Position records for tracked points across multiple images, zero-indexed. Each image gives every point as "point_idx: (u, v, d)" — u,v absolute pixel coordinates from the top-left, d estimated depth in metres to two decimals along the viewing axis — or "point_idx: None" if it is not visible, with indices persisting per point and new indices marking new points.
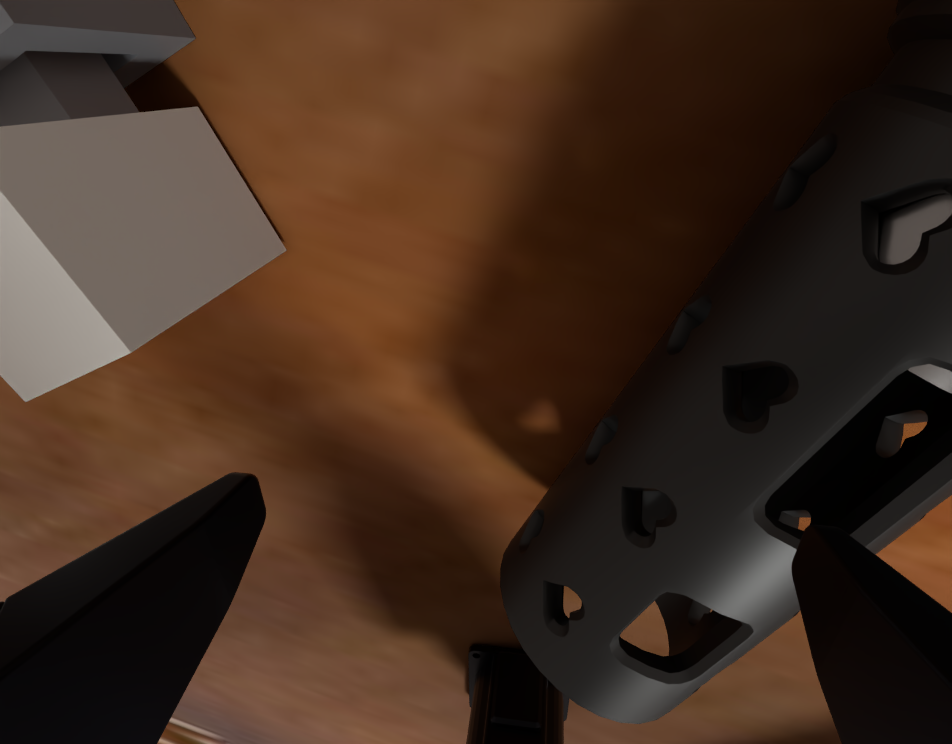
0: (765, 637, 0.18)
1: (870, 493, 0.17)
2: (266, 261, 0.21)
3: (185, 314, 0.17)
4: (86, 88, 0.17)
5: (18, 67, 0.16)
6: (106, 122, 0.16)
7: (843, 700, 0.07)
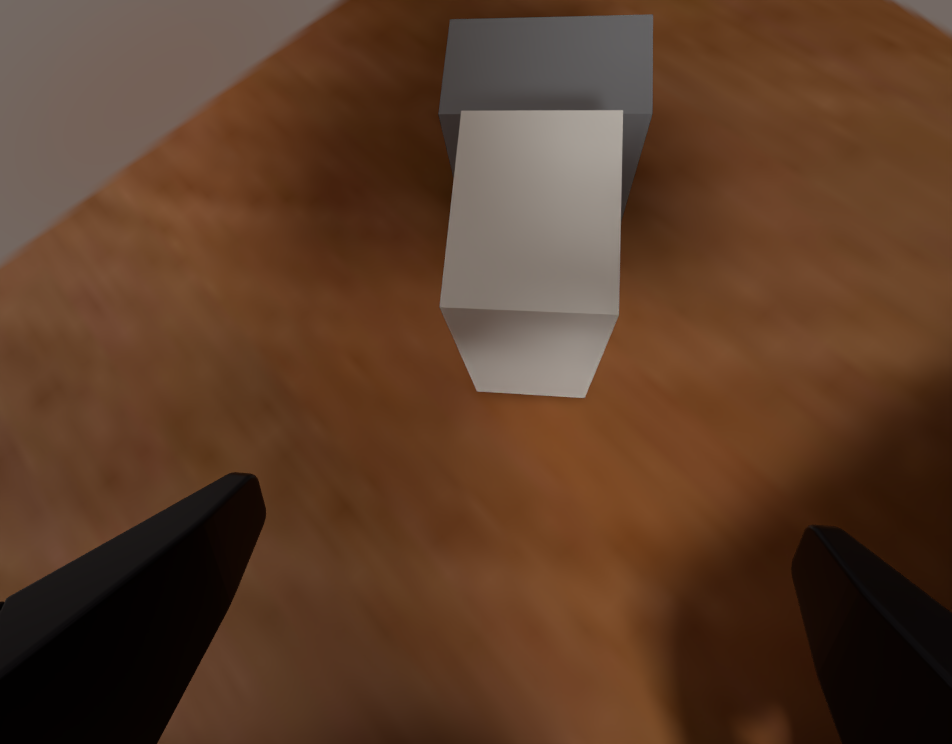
0: None
1: None
2: (588, 386, 0.21)
3: None
4: None
5: None
6: None
7: (843, 700, 0.07)
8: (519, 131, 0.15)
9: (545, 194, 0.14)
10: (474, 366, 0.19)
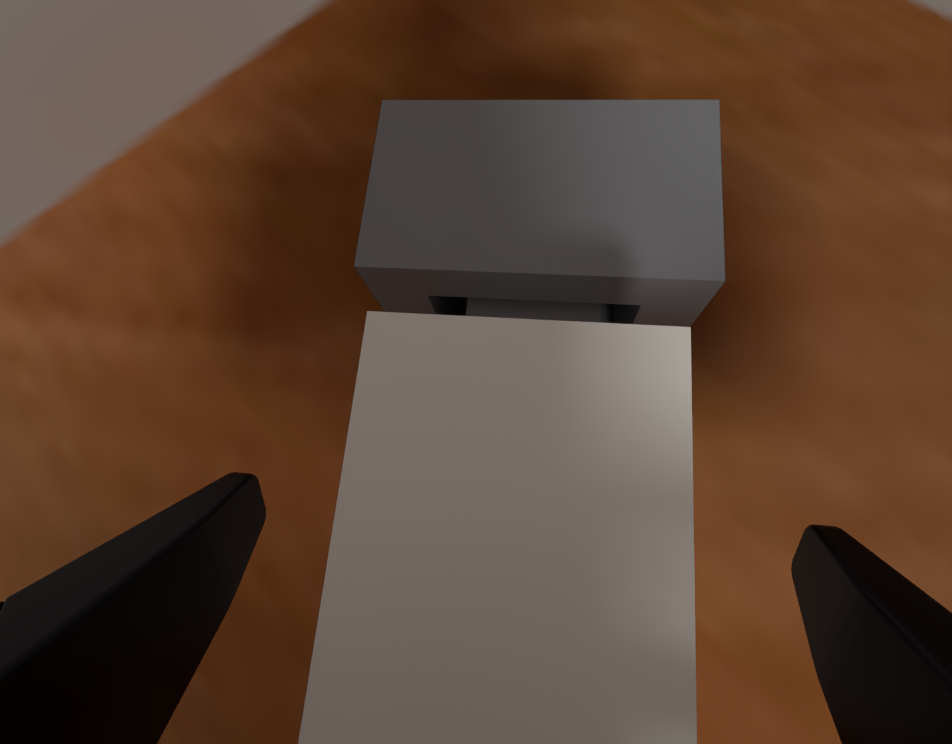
0: None
1: None
2: None
3: None
4: None
5: (579, 310, 0.12)
6: None
7: (843, 700, 0.07)
8: (479, 363, 0.07)
9: (529, 518, 0.07)
10: None
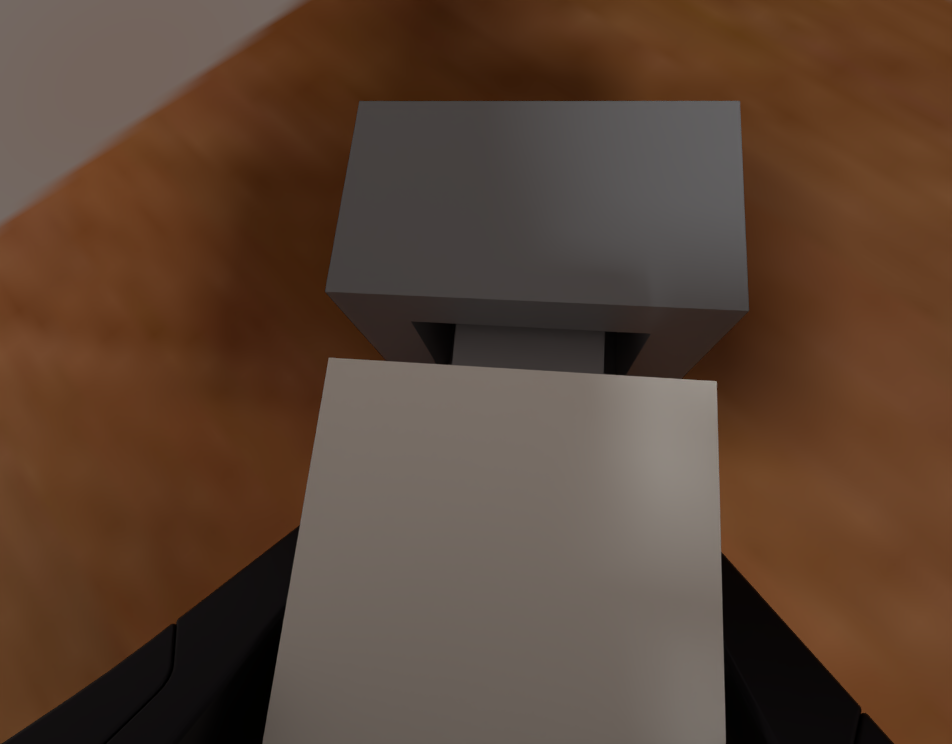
0: None
1: None
2: None
3: None
4: None
5: (581, 337, 0.11)
6: None
7: None
8: (461, 424, 0.06)
9: (520, 620, 0.06)
10: None
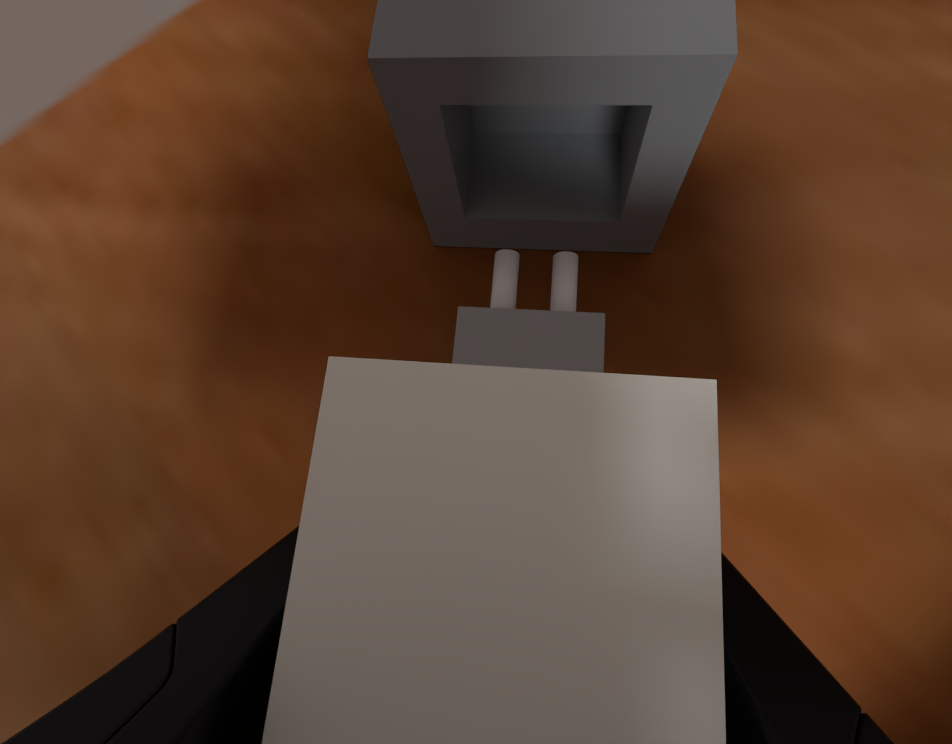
0: None
1: None
2: None
3: None
4: None
5: (581, 336, 0.11)
6: None
7: None
8: (461, 422, 0.06)
9: (519, 618, 0.06)
10: None
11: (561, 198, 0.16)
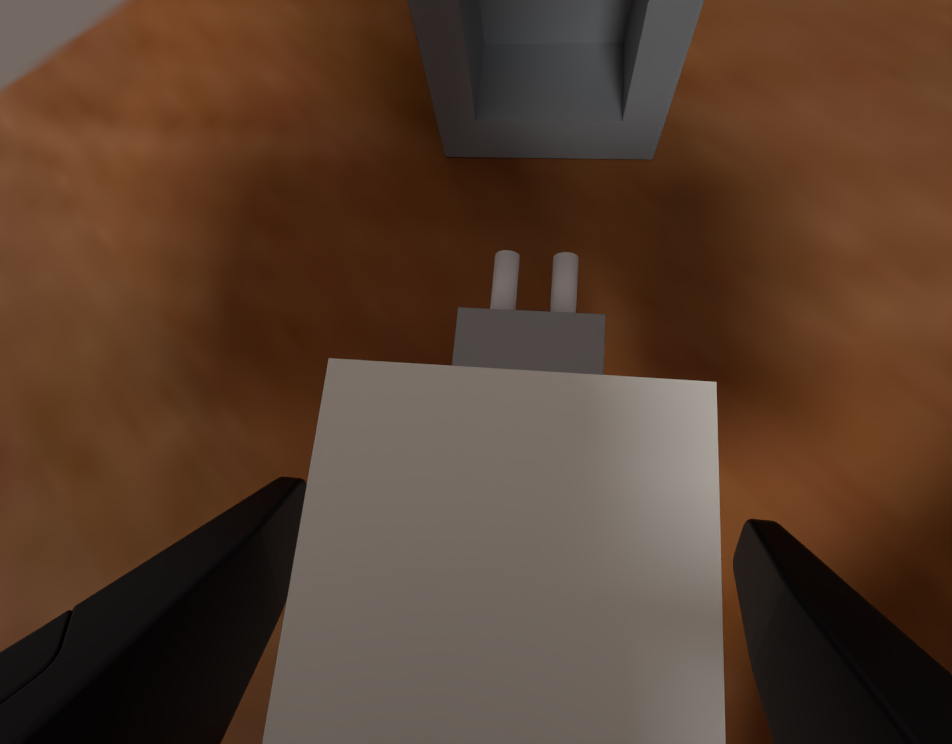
0: None
1: None
2: None
3: None
4: None
5: (581, 337, 0.11)
6: None
7: (772, 691, 0.07)
8: (461, 424, 0.06)
9: (519, 621, 0.06)
10: None
11: (566, 101, 0.17)
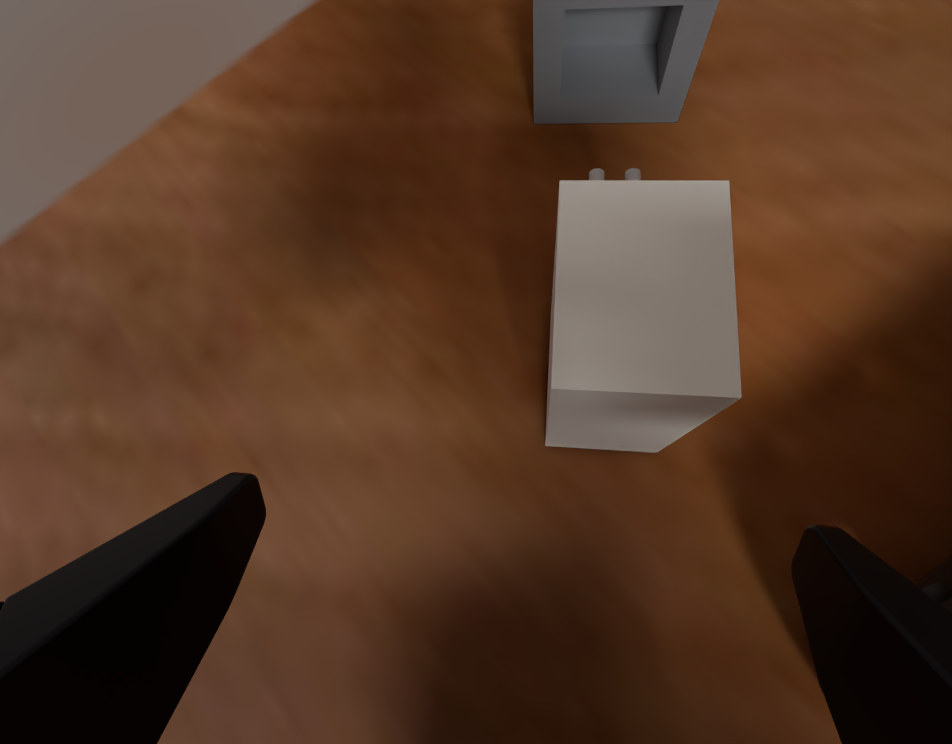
0: None
1: None
2: None
3: None
4: None
5: None
6: None
7: (843, 700, 0.07)
8: (622, 202, 0.15)
9: (653, 269, 0.14)
10: (555, 429, 0.19)
11: (620, 83, 0.25)
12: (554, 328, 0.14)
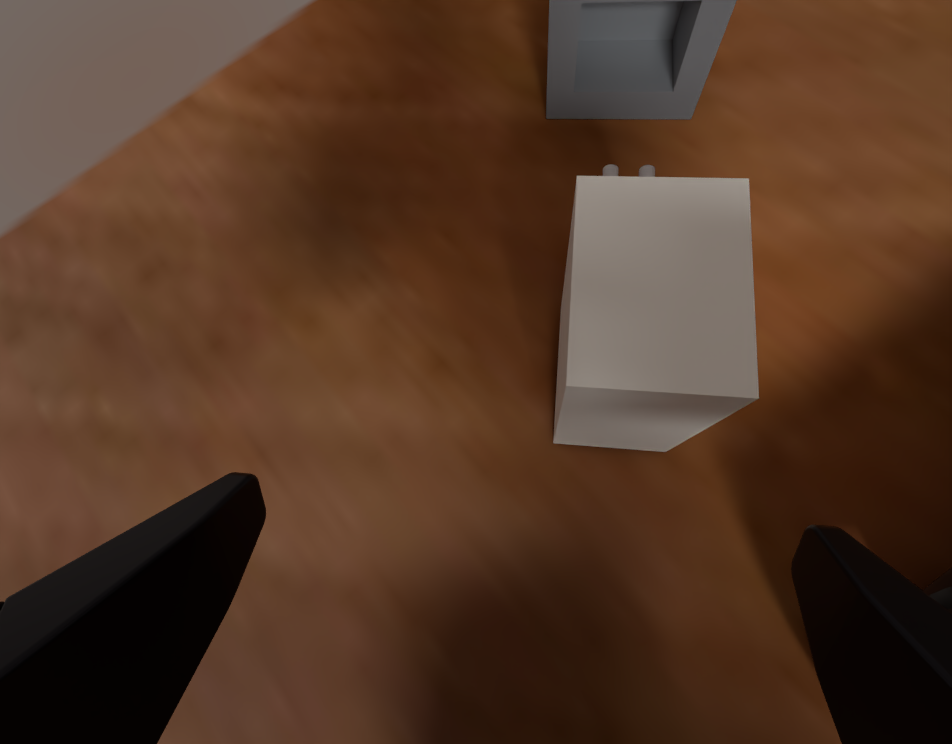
0: None
1: None
2: None
3: None
4: None
5: None
6: None
7: (843, 700, 0.07)
8: (639, 198, 0.15)
9: (671, 267, 0.14)
10: (565, 426, 0.19)
11: (635, 78, 0.25)
12: (570, 325, 0.14)
